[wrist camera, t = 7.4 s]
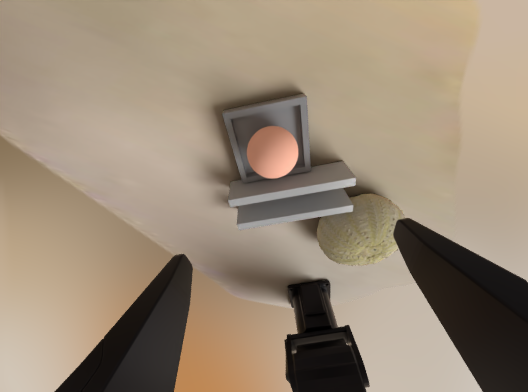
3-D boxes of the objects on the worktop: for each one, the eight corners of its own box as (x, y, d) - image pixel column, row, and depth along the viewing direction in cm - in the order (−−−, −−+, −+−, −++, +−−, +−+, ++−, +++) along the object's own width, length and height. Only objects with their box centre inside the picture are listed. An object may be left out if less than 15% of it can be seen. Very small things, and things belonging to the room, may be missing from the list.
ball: (290, 114, 17) (301, 131, 13) (295, 159, 19) (305, 182, 16) (241, 124, 17) (240, 144, 14) (252, 167, 19) (253, 192, 16)
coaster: (308, 165, 20) (310, 170, 19) (242, 177, 20) (242, 183, 20) (304, 93, 16) (306, 96, 15) (223, 110, 17) (222, 113, 16)
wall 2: (341, 192, 22) (352, 211, 20) (240, 210, 23) (238, 230, 20) (342, 186, 22) (353, 205, 19) (238, 204, 22) (236, 224, 20)
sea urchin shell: (302, 216, 21) (389, 246, 16) (338, 172, 25) (419, 185, 20) (316, 266, 27) (385, 301, 21) (345, 224, 30) (409, 245, 25)
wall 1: (343, 168, 20) (355, 185, 18) (232, 188, 21) (230, 207, 19) (343, 161, 20) (355, 177, 17) (230, 181, 21) (227, 200, 18)
